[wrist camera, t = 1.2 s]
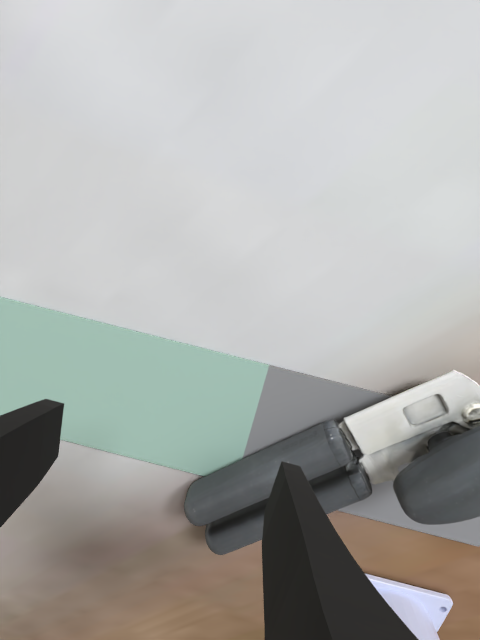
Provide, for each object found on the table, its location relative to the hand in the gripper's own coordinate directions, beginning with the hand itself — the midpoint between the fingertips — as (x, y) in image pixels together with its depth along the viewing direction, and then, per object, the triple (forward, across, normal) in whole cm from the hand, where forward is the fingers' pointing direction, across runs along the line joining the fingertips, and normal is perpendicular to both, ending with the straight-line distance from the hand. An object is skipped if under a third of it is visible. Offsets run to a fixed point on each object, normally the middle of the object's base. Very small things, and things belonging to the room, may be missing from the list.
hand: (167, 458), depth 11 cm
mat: (+10, -1, +5) cm, 11 cm away
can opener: (+10, -9, +5) cm, 14 cm away
